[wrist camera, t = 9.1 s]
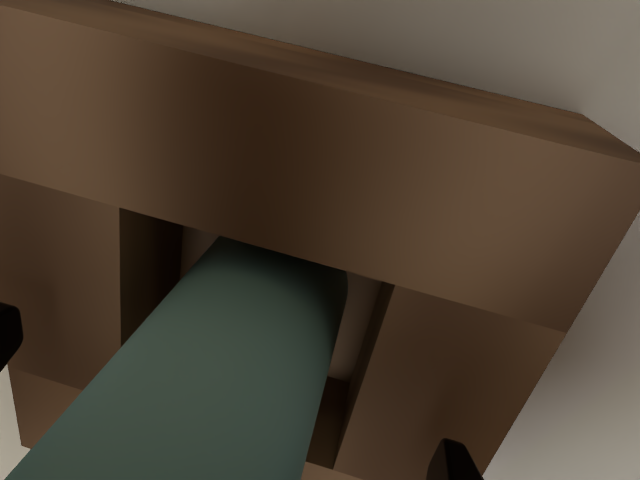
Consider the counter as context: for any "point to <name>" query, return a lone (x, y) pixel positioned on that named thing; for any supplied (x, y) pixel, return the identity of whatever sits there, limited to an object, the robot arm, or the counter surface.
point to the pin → (208, 378)
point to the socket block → (297, 217)
